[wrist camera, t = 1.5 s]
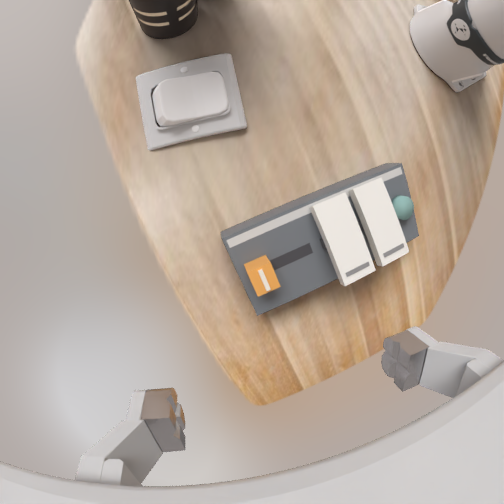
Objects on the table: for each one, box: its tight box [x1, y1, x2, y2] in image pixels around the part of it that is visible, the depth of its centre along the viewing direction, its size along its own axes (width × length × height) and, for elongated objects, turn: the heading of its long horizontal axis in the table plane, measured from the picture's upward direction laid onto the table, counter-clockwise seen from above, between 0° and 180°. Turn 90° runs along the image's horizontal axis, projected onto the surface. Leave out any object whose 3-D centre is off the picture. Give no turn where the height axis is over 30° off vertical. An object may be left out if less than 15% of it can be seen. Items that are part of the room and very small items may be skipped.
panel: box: [221, 163, 419, 316], centre depth 37 cm, size 26×11×5 cm, turn 112°
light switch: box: [136, 53, 247, 151], centre depth 31 cm, size 11×4×13 cm
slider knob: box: [244, 255, 281, 297], centre depth 33 cm, size 3×3×3 cm
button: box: [391, 195, 414, 220], centre depth 35 cm, size 3×3×1 cm
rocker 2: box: [348, 178, 409, 267], centre depth 33 cm, size 4×10×2 cm, turn 22°
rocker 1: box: [309, 193, 376, 286], centre depth 33 cm, size 4×10×2 cm, turn 22°
